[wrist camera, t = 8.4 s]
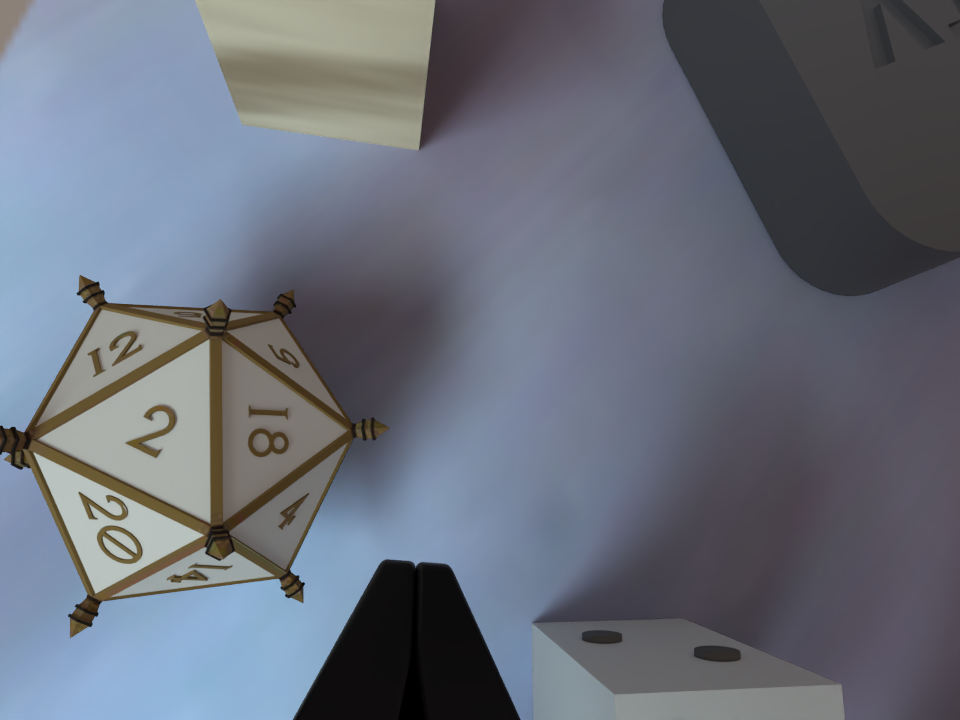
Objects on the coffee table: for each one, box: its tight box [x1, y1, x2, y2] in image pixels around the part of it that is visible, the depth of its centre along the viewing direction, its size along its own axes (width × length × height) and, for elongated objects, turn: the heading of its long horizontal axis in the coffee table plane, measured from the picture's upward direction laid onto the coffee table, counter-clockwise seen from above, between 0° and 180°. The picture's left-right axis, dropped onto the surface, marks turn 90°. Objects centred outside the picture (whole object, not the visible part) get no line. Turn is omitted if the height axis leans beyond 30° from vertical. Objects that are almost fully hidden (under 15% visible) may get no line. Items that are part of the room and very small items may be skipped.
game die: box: [0, 275, 389, 638], centre depth 18 cm, size 9×8×10 cm
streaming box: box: [663, 0, 960, 296], centre depth 25 cm, size 14×14×5 cm
